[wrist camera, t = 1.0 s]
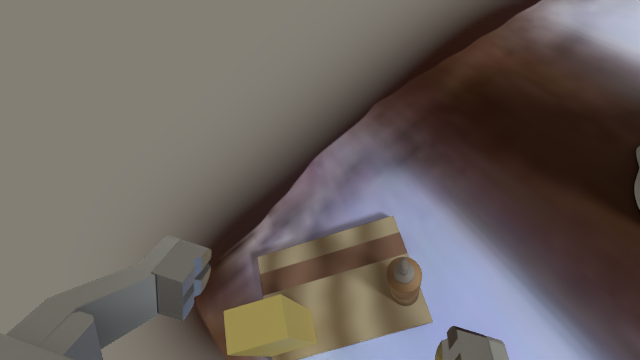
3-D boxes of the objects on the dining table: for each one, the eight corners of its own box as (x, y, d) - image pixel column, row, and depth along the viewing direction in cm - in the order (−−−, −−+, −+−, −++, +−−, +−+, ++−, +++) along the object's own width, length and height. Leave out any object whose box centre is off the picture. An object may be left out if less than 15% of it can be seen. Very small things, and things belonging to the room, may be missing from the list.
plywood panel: (393, 218, 49) (393, 215, 48) (432, 322, 42) (432, 321, 41) (260, 259, 50) (257, 257, 49) (276, 365, 43) (273, 365, 42)
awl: (409, 272, 44) (410, 235, 31) (424, 298, 42) (431, 270, 29) (385, 285, 44) (376, 252, 31) (399, 310, 42) (395, 288, 29)
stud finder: (317, 343, 42) (287, 337, 32) (271, 356, 43) (227, 355, 32) (310, 308, 44) (280, 292, 34) (266, 321, 45) (223, 309, 34)
